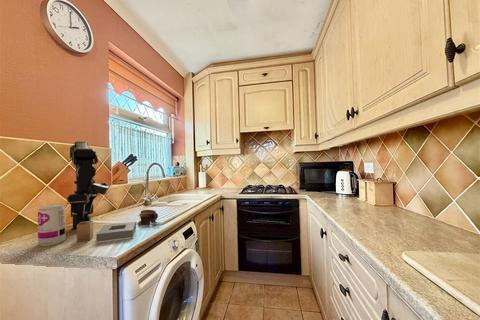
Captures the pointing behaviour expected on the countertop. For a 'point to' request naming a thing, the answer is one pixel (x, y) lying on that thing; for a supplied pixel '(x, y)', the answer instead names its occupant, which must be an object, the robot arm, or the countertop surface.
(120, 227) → the charcoal well block
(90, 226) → the wooden toy block
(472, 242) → the countertop surface
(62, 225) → the supplement can
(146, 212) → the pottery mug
